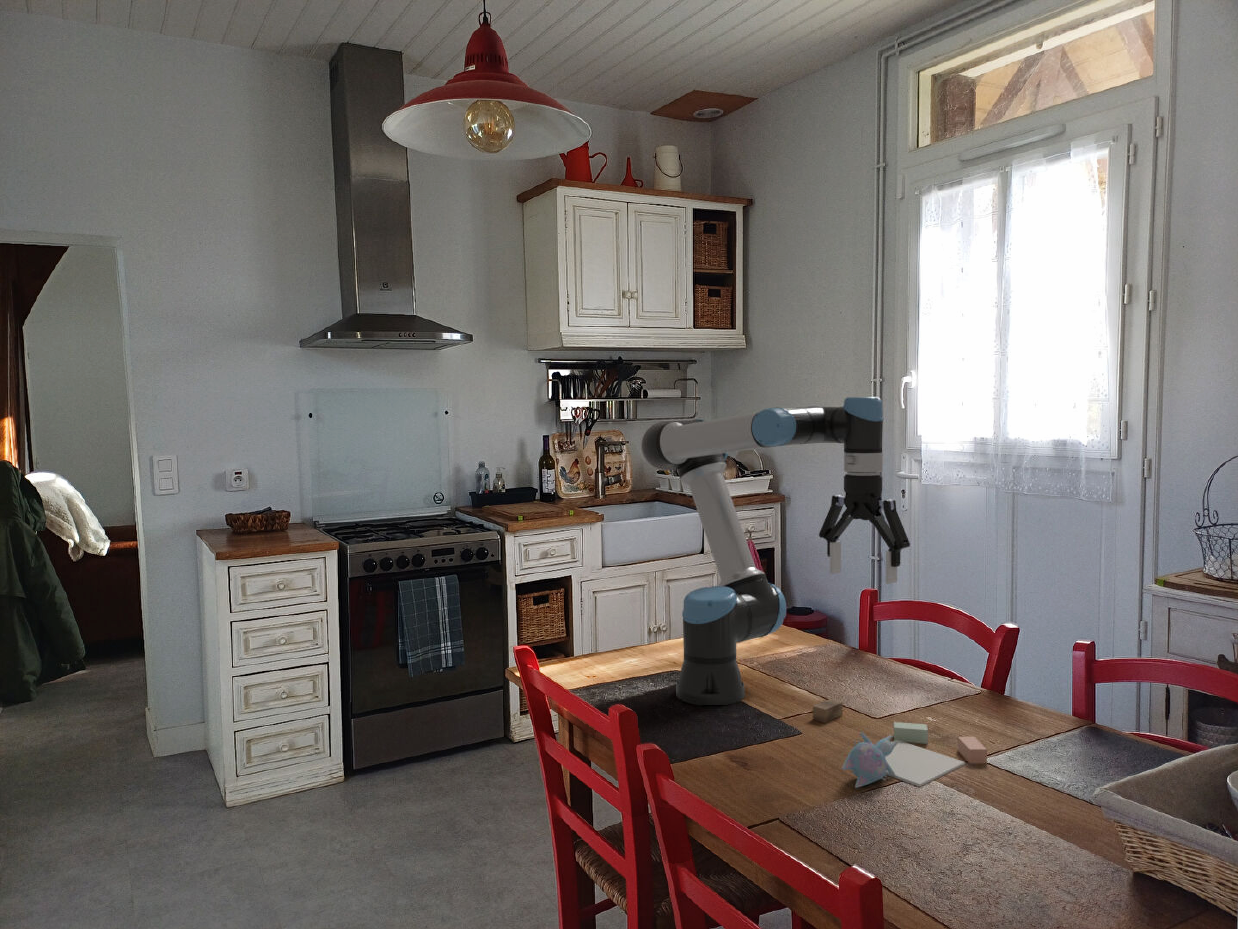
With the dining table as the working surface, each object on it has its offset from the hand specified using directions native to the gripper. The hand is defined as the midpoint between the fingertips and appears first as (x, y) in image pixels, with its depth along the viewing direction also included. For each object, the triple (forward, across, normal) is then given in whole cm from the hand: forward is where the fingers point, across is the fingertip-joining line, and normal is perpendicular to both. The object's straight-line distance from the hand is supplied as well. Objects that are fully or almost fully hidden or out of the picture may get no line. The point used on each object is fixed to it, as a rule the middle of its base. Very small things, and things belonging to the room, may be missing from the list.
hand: (862, 577), depth 182 cm
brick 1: (+29, -4, -6) cm, 30 cm away
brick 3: (+29, +26, -3) cm, 39 cm away
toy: (+25, +18, -16) cm, 34 cm away
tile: (+29, +20, -14) cm, 38 cm away
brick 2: (+29, +14, -4) cm, 32 cm away
